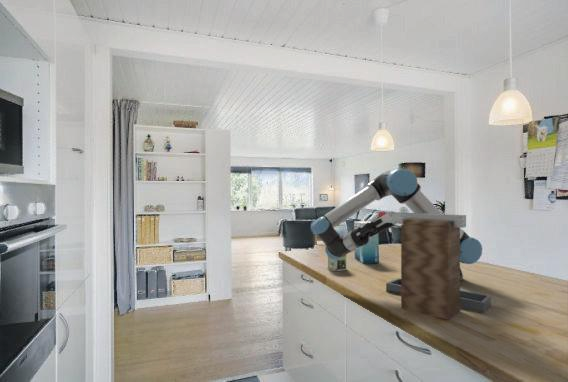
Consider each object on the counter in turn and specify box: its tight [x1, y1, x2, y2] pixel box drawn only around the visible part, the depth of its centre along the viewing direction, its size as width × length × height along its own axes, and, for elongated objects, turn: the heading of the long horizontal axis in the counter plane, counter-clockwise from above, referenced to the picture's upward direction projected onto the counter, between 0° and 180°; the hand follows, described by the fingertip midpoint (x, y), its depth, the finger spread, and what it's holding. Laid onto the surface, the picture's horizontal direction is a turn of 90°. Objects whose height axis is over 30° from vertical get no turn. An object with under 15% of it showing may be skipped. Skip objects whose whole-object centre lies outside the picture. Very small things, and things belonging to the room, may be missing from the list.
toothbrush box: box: [353, 220, 380, 264], centre depth 203 cm, size 18×10×24 cm, turn 4°
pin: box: [378, 211, 467, 229], centre depth 120 cm, size 30×4×4 cm, turn 46°
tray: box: [385, 278, 492, 314], centre depth 130 cm, size 36×11×4 cm, turn 46°
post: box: [400, 219, 461, 321], centre depth 117 cm, size 16×12×32 cm
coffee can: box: [327, 254, 347, 272], centre depth 180 cm, size 10×10×14 cm
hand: (398, 215), depth 125 cm, fingers open, 13 cm apart
